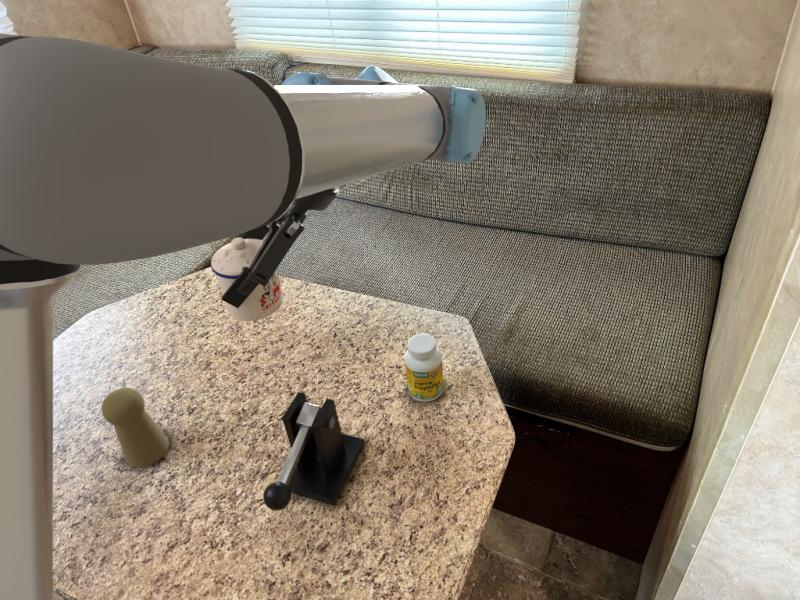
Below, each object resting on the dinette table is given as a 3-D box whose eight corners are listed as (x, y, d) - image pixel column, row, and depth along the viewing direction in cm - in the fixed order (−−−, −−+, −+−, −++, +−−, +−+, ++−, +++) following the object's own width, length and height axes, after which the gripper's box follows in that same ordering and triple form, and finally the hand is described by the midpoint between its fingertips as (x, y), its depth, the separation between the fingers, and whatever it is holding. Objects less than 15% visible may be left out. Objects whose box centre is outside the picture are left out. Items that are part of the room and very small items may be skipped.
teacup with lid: (276, 324, 89) (258, 259, 82) (217, 322, 90) (194, 258, 83) (297, 275, 98) (282, 213, 91) (243, 274, 99) (225, 213, 92)
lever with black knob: (288, 517, 70) (279, 508, 67) (264, 510, 71) (254, 501, 68) (329, 416, 77) (323, 405, 74) (307, 411, 78) (299, 399, 75)
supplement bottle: (438, 373, 93) (435, 326, 87) (448, 398, 89) (445, 351, 83) (404, 380, 92) (399, 334, 86) (412, 406, 88) (407, 360, 82)
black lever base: (334, 506, 77) (319, 448, 69) (279, 490, 79) (259, 432, 72) (365, 444, 84) (354, 386, 76) (313, 431, 86) (297, 373, 79)
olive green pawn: (151, 471, 83) (122, 419, 76) (116, 462, 85) (84, 410, 78) (177, 437, 87) (151, 385, 80) (143, 428, 89) (114, 376, 82)
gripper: (344, 234, 74) (248, 341, 84) (340, 150, 93) (263, 245, 102) (292, 201, 71) (199, 316, 80) (299, 121, 90) (223, 221, 99)
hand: (234, 276), depth 91 cm, fingers closed on teacup with lid, 12 cm apart
